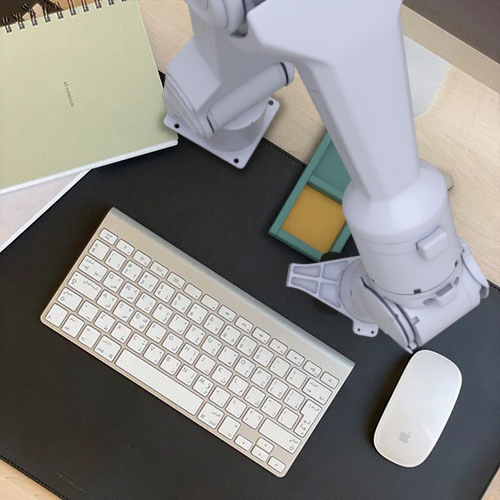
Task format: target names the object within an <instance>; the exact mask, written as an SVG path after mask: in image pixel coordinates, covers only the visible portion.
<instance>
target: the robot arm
mask: <svg viewBox="0 0 500 500" xmlns="http://www.w3.org/2000/svg"><path fill="white" fill-rule="evenodd" d="M183 1H184V2H185V4H186V5H187V8H188V13H189V18H190V23H191V27H192V33H193V35H192V36H191V37H190V39H189V40H188V41H187V42H185V44H184V45H183V47H182V48H181V49H180V50H179V51H178V52H177V53H176V54H175V55H174V57H172V58H171V60H170V61H169V62H168V63H167V64H166V66H165V71H166V74H165V75H164V78H165V80H164V87H163V90H162V94H161V95H162V101H163V104H164V107H165V110H166V115H165V116H164V118H163V124H164V125H165V127H167V128H169V129H170V130H172V131H174V132H176V133H177V134H179V135H181V136H182V137H184V138H186V139H187V140H189V141H191V142H192V143H194V144H195V145H198V146H199V147H201V148H202V149H204V150H206V151H208V152H210V153H211V154H213V155H215V156H216V157H218V158H220V159H221V160H223V161H225V162H227V163H229V164H230V165H232V166H234V167H235V168H237V169H240V170H242V169H244V168H245V167H246V165H247V163H248V162H249V160H250V158H251V157H252V155H253V153H254V152H255V150H256V148H257V147H258V145H259V144H260V142H261V140H262V138H263V136H264V134H265V133H266V131H267V130H268V128H269V126H270V125H271V124H272V121H273V120H274V118H275V116H276V115H277V113H278V111H279V110H280V107H281V104H280V102H279V101H278V100H276V99H275V98H273V97H272V95H274V94H275V93H276V92H278V91H279V90H280V89H282V88H283V87H288V86H289V85H291V84H293V83H294V80H295V73H296V71H297V73H298V75H299V77H300V80H301V81H302V83H303V85H304V87H305V89H306V92H307V93H308V96H309V97H310V99H311V101H312V104H313V106H314V107H315V109H316V111H317V113H318V115H319V118H320V119H321V121H322V123H323V125H324V127H325V129H326V132H327V131H328V133H329V135H330V137H331V139H332V141H333V143H334V145H335V147H336V149H337V151H338V153H339V155H340V157H341V159H342V161H343V163H344V165H345V167H346V169H347V171H348V173H349V175H350V177H351V179H352V180H351V182H350V183H349V184H348V186H347V188H346V190H345V192H344V195H343V199H342V210H343V214H344V216H345V219H346V221H347V224H348V226H349V229H350V231H351V234H350V235H351V236H352V238H353V242H354V243H355V246H356V249H357V252H358V254H359V255H357V256H356V255H354V256H350V253H343V252H340V253H339V252H333V251H330V252H326V253H324V254H323V255H322V256H321V258H320V263H318V262H315V263H305V264H304V263H295V262H291V263H289V264H288V271H287V275H286V281H285V287H288V288H294V289H297V290H300V291H303V292H305V293H306V294H308V295H310V296H312V297H313V299H312V306H313V307H312V308H313V309H314V311H315V312H317V313H319V314H321V315H322V314H323V315H327V316H334V317H338V316H339V313H341V314H342V315H344V316H346V317H348V318H349V319H350V320H351V321H352V331H353V334H356V335H358V336H363V337H369V338H374V337H376V336H377V335H378V332H379V330H381V331H383V333H384V334H385V335H388V336H389V337H391V339H393V341H395V342H396V343H397V344H398V345H399V347H401V348H403V350H405V351H406V352H407V353H409V354H411V355H412V354H413V350H415V349H416V348H417V347H422V346H424V345H426V344H427V343H428V342H429V341H430V340H432V339H433V338H435V337H436V336H438V335H439V334H440V333H442V332H443V331H444V330H446V329H447V328H448V327H450V326H451V325H453V324H454V323H455V322H457V321H459V319H461V318H463V317H464V316H465V315H467V314H468V313H469V312H471V311H472V310H473V309H475V308H476V307H478V306H479V305H480V303H481V299H486V298H488V296H489V293H490V291H489V290H490V289H489V288H490V284H489V282H488V279H487V277H486V275H485V274H484V272H483V270H482V269H481V267H480V265H479V264H478V262H477V260H476V259H475V257H474V255H473V253H472V250H471V248H470V247H469V245H468V243H467V242H466V241H465V239H463V237H461V236H459V235H458V234H457V229H456V223H455V219H454V215H453V210H452V204H451V200H450V195H449V190H448V191H447V186H446V182H445V179H444V177H443V175H442V174H441V172H440V171H439V170H440V169H439V168H438V167H436V166H435V165H434V164H433V163H430V162H429V161H427V160H424V159H422V158H420V155H419V147H418V139H417V131H416V124H415V115H414V107H413V100H412V99H413V98H412V93H411V92H412V91H411V84H410V77H409V69H408V62H407V54H406V44H405V39H404V37H405V36H404V30H403V22H402V14H401V7H402V5H403V1H404V0H183ZM270 102H271V103H272V104H269V103H270ZM176 125H178V126H179V127H177V128H176V127H175V126H176ZM235 160H238V162H235Z"/></svg>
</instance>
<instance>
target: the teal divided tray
mask: <svg viewBox="0 0 500 500" xmlns="http://www.w3.org/2000/svg"><path fill="white" fill-rule="evenodd" d="M351 180H352V179H351V177H350V175H349V173H348V171H347V169H346V167H345V165H344V163H343V161H342V159H341V157H340V155H339V153H338V151H337V149H336V147H335V145H334V143H333V141H332V139H331V137H330V135H329V133H328V131H327V130H326V132H325V134H324V135H323V137H322V139H321V141H320V143H319V144H318V146H317V147H316V149H315V151H314V153H313V155H312V156H311V158H310V160H309V161H308V163H307V165H306V166H305V168H304V170H303V172H302V173H301V175H300V176H299V178H298V180H297V182H296V183H295V185H294V187H293V188H292V190H291V192H290V194H289V195H288V197H287V199H286V201H285V202H284V204H283V206H282V207H281V209H280V211H279V212H278V214H277V216H276V218H275V219H274V221H273V222H272V225H271V226H270V228H269V229H268V232H267V234H268V235H270V236H272V237H273V238H275V239H277V240H278V241H280V242H282V243H283V244H285V245H286V246H289V247H291V248H292V249H294V250H295V251H297V252H298V253H300V254H303V255H304V256H305V257H308V258H309V259H311V260H313V261H314V262H315V263H320V258H321V256H322V255H323V254H324V253H326V252H330V251H333V252H339V253H341V252H342V250H343V248H344V246H345V245H346V243H347V241H348V239H349V238H350V235H352V234H351V231H350V229H349V226H348V224H347V221H346V219H345V216H344V214H343V210H342V199H343V195H344V192H345V190H346V188H347V186H348V184H349V183H350V182H351Z"/></svg>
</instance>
